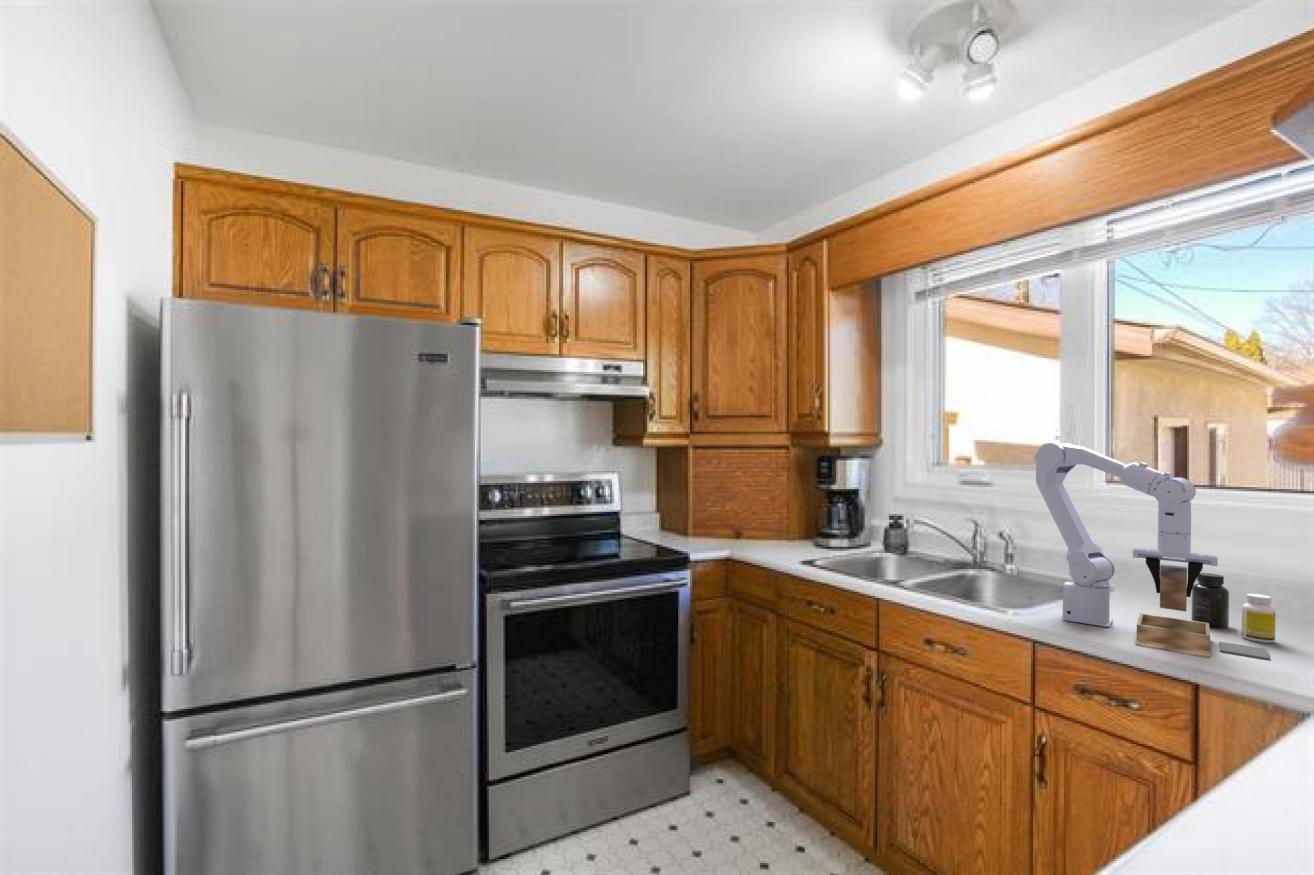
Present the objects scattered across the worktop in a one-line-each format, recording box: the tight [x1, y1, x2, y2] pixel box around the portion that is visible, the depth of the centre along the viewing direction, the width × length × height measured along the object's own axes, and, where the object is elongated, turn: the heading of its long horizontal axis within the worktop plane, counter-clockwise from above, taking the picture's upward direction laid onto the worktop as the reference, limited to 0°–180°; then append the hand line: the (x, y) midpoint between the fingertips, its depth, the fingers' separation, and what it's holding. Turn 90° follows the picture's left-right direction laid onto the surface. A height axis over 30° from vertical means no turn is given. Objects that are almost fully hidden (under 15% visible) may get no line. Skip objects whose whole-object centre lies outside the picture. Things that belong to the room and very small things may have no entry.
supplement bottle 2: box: [1241, 593, 1276, 644], centre depth 142 cm, size 5×5×10 cm
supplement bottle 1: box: [1191, 572, 1230, 629], centre depth 154 cm, size 7×7×12 cm
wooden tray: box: [1134, 612, 1211, 658], centre depth 142 cm, size 12×20×4 cm, turn 140°
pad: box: [1218, 641, 1271, 661], centre depth 134 cm, size 8×8×1 cm
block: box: [1159, 563, 1188, 612], centre depth 142 cm, size 4×4×9 cm
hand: (1173, 594), depth 142 cm, fingers closed on block, 4 cm apart
